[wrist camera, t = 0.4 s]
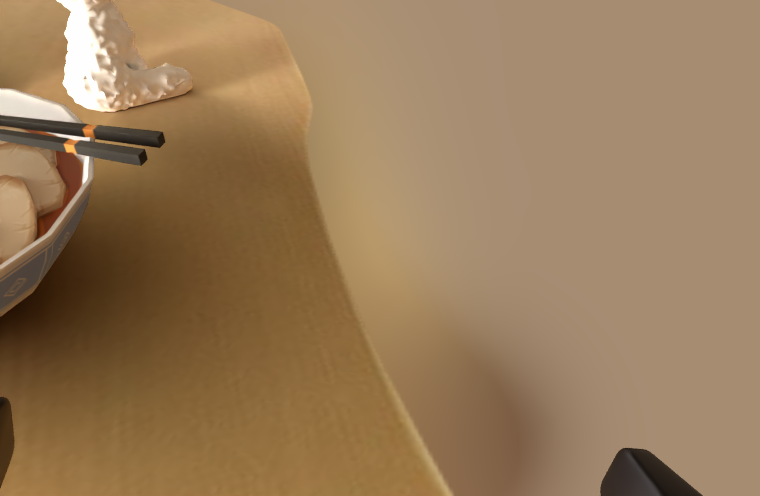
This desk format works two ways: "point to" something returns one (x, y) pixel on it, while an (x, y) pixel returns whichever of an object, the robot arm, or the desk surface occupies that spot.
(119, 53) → the sitting furry creature
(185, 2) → the desk surface
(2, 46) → the desk surface
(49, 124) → the ramen bowl
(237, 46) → the desk surface
